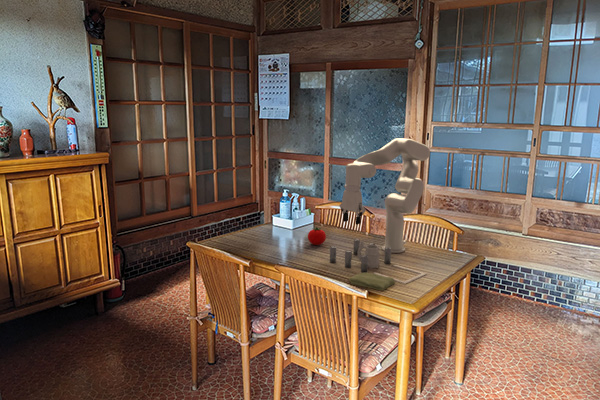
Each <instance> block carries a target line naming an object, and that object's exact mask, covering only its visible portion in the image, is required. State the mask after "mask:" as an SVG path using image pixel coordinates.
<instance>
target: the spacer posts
mask: <svg viewBox="0 0 600 400" xmlns="http://www.w3.org/2000/svg"><path fill="white" fill-rule="evenodd" d="M360 243H361V240H360V239H359V238H355V239H353V249H352V250H353V253H352V250H345V251H344V268H345V269H351V268H352V257H353V256H358V253H357V252H358V249H359V246H360ZM368 245H376V243H374V242H368ZM352 255H353V256H352ZM383 255H384V256H383V257H384V258H383V260H384V261H383V263H384V264H385V265H390V264H391V262H392V261H391V260H392V259H391V257H392V253H391V247H385V251H384V254H383ZM329 263H330V264H335V263H337V246H335V245H331V246H330V247H329ZM368 269H369V267H368V255H365V254H361V261H360V274H361V273H369V271H368Z"/></svg>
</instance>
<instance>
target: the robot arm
mask: <svg viewBox="0 0 600 400" xmlns="http://www.w3.org/2000/svg"><path fill="white" fill-rule="evenodd" d="M400 155H401V158H402V163H403V167H402V170H401V171H400V174H399V176H398V178H397V180H396V182H395V187H394V188H395V190H396V191H397V192H398V193H395V192H394V193H393V192H391V193H389V194H387V196H386V197H385V200H384V208H385V215H386V216H385V218H386V219H385V236H384V237H385V238H384V245H382V246H381V249H382V251H384V252H385V247H391V254H392V253H393V254H394V253H395V254H396V253H397V254H398V253H404V252H406V247H405V246H404V245H405V244H407V240H405V239H404V223H405V222H404V221H405V219H404V218H405V217H404V214H406V215H410V214H412V213H414V211H415V210H416V208H417V206H418V204H419V202H420V199H421V197H422V195H423V193H424V189H425V185H424V181H423V180H422V179H421V178H418V177H417V176H418V173H419V164H418V162H417V161H419V162H420V161H421V162H423V161H426V160H428V159H429V157H430V155H431V151H430V148H429V146H428V145H426V144H424V143H422V142H419V141H417V140H414V139H412V138H403V137H401V138H400V137H397V138H394V139H392V140H391V141H389V142H388V143H386V144H385V145H384V146H382V147H381V148H379V149H378V150H375V151H371V152H369V153H366V154H364V155H362V156H360V157H358V158H356V159H355V160H354V161H353V162H351V163H348V164H346V165H345V184H344V186H343V187H344V188H345V190H343V194H342V199H341V201H342V202H341V203H340V204H339V208H340V211H341V212H342V213H341V214H342V215H343V220H342V221H343V222H344V223H345V222H348V221H349V212H353V213H355V214H356V216H355V225H361V222H362V220H361V219H362V216H363V215H364V214H365V212H366V211H367V209H366V208H365V207H364V205H363V196H362V191H361V187H362V186H361V183H362V181H361V180H362V179H364V178H365V179H370V178H374V176H375V175H376V174H377V168H376V166H384V165H386V164H389V163H390V162H392V161H393V160H394V159H396V158H398V157H399V156H400ZM401 193H402V194H401Z"/></svg>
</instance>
